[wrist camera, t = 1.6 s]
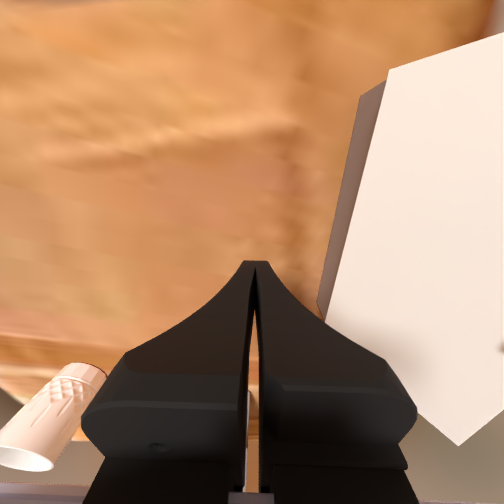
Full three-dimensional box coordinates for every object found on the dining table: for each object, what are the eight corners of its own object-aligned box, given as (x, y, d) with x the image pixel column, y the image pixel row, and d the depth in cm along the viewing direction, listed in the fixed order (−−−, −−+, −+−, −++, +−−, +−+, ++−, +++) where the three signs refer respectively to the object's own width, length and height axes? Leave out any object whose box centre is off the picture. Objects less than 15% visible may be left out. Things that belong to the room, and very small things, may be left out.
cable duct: (398, 303, 22) (425, 330, 19) (316, 301, 23) (327, 328, 19) (497, 96, 14) (583, 73, 10) (360, 96, 14) (396, 73, 10)
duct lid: (462, 436, 12) (455, 453, 11) (327, 328, 19) (318, 334, 18) (1173, -166, 3) (1380, -276, 2) (396, 73, 10) (384, 66, 9)
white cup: (75, 387, 33) (8, 470, 24) (52, 359, 30) (-37, 445, 21) (117, 386, 33) (65, 472, 24) (99, 359, 29) (29, 446, 20)
